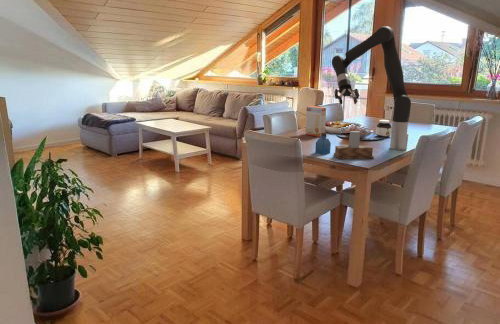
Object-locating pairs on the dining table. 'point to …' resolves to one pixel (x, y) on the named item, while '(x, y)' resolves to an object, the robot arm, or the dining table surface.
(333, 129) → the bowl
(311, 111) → the cracker box
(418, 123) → the dining table surface
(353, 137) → the slate peg
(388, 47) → the robot arm
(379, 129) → the spread jar
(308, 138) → the dining table surface
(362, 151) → the stand
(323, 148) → the perfume bottle
